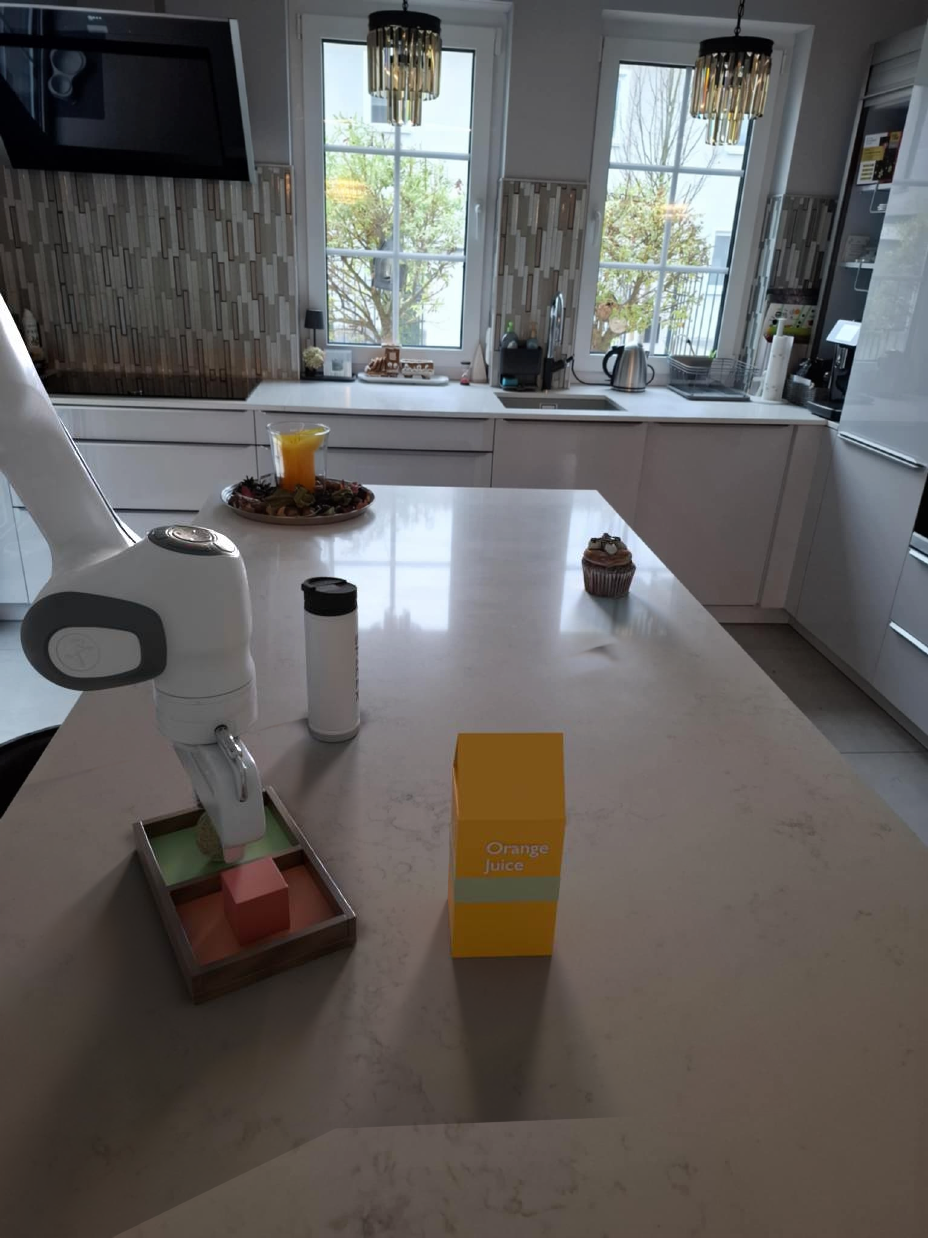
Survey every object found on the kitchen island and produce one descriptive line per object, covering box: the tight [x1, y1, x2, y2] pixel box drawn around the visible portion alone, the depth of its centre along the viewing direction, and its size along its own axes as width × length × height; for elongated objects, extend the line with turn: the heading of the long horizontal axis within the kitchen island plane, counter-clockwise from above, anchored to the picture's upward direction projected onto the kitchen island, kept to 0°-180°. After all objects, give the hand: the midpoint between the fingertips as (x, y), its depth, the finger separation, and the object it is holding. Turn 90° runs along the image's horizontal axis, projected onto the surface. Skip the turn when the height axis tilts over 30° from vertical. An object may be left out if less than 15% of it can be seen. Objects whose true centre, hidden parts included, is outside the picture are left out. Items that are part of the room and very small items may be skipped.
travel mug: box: [300, 576, 361, 743], centre depth 104 cm, size 6×7×20 cm
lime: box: [195, 812, 245, 861], centre depth 83 cm, size 4×5×5 cm
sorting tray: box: [132, 785, 358, 1006], centre depth 80 cm, size 14×22×3 cm, turn 31°
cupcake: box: [580, 532, 637, 599], centre depth 154 cm, size 10×10×10 cm
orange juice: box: [447, 732, 567, 958], centre depth 74 cm, size 8×9×20 cm
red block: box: [221, 857, 290, 946], centre depth 75 cm, size 4×4×4 cm
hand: (218, 829), depth 84 cm, fingers open, 8 cm apart
